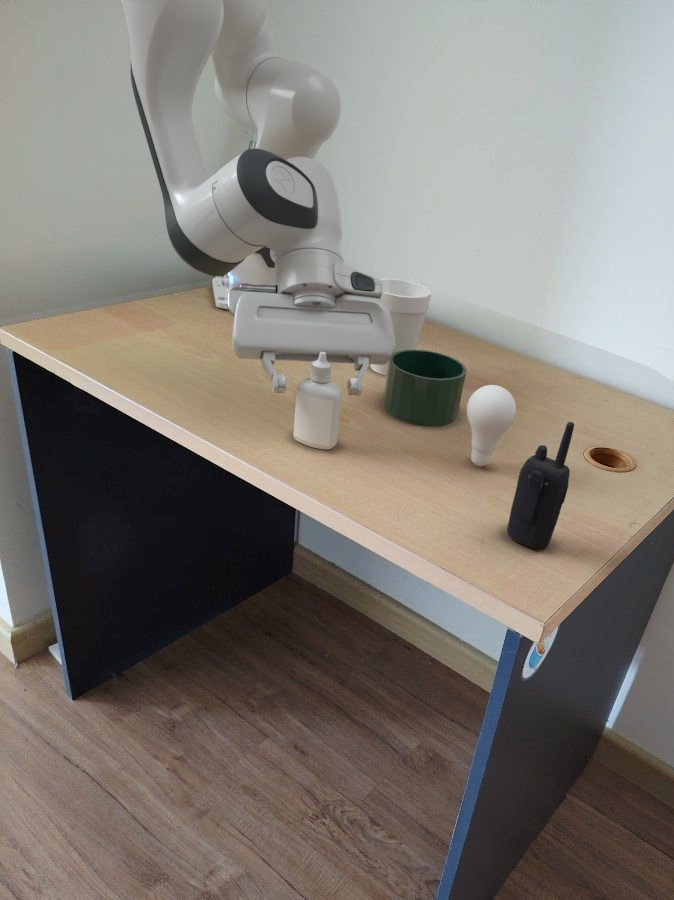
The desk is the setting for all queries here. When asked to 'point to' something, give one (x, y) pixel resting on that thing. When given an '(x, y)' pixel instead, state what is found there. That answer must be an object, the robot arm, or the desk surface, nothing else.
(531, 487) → the two-way radio
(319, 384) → the eye dropper bottle
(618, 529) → the desk surface
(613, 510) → the desk surface
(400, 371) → the tin
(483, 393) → the lightbulb
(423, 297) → the foam cup
